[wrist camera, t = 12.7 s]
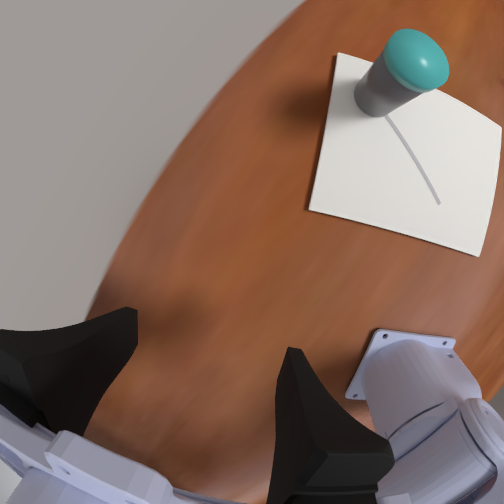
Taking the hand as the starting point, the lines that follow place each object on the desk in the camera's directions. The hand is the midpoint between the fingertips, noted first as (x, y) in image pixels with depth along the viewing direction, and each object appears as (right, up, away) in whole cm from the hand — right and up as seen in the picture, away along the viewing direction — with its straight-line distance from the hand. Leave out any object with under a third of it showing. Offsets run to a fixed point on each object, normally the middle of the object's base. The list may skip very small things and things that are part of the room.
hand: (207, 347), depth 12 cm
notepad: (+15, +11, +5) cm, 19 cm away
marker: (+11, +15, +4) cm, 19 cm away
